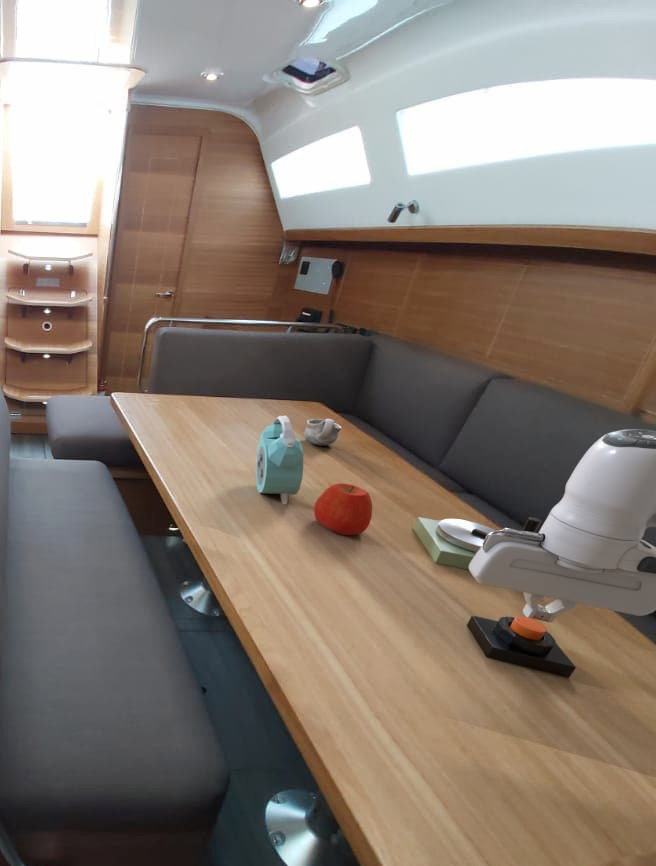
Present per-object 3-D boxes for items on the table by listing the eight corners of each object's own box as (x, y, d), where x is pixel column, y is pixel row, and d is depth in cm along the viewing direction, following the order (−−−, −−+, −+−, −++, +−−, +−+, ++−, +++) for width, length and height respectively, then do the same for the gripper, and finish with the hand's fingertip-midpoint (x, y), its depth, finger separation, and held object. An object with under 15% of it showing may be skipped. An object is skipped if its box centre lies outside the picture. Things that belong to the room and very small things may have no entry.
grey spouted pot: (329, 440, 165) (339, 411, 160) (342, 454, 153) (353, 423, 149) (297, 437, 166) (306, 408, 162) (308, 450, 155) (318, 420, 151)
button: (533, 628, 78) (539, 620, 78) (545, 643, 75) (551, 635, 75) (505, 622, 80) (510, 613, 79) (516, 637, 76) (521, 628, 76)
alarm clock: (298, 511, 119) (324, 432, 110) (256, 504, 121) (277, 427, 112) (283, 481, 134) (304, 410, 125) (245, 476, 136) (264, 405, 127)
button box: (540, 642, 81) (553, 623, 79) (568, 678, 74) (583, 658, 72) (466, 625, 84) (476, 606, 82) (486, 657, 77) (498, 638, 75)
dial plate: (493, 543, 109) (500, 531, 107) (527, 581, 96) (535, 568, 95) (412, 528, 113) (417, 516, 112) (435, 562, 101) (441, 550, 99)
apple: (304, 527, 112) (318, 485, 107) (316, 510, 119) (330, 470, 115) (359, 546, 105) (377, 502, 101) (368, 527, 113) (385, 485, 108)
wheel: (538, 562, 96) (561, 523, 93) (482, 562, 95) (503, 524, 92) (472, 524, 109) (490, 489, 105) (422, 524, 108) (438, 489, 104)
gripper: (502, 536, 71) (461, 612, 77) (698, 570, 64) (637, 650, 70) (483, 516, 76) (447, 588, 82) (663, 546, 70) (609, 622, 76)
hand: (536, 617), depth 76 cm, fingers closed
